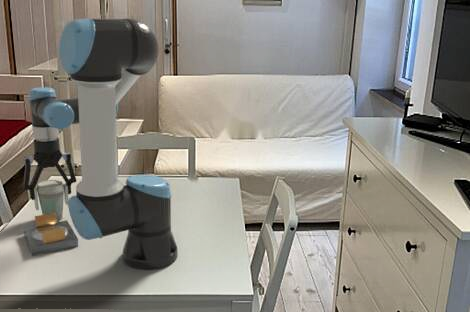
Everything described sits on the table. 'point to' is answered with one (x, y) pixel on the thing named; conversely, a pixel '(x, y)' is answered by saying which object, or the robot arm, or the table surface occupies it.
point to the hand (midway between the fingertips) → (52, 205)
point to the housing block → (49, 235)
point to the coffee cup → (51, 197)
